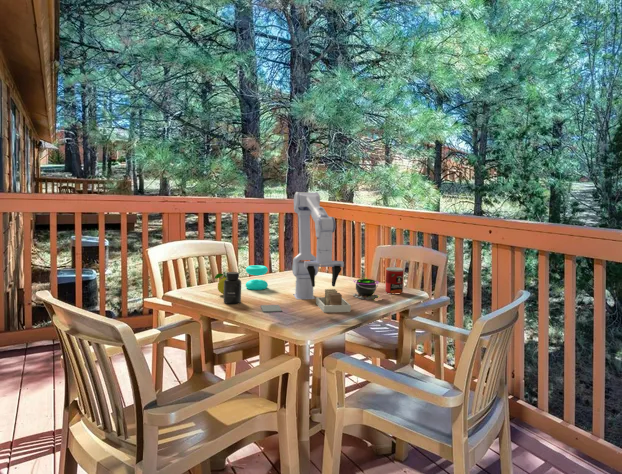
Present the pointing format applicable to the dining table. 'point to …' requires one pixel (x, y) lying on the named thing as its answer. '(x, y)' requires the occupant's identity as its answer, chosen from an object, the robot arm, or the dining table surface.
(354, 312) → the dining table surface
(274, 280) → the dining table surface
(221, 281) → the pear
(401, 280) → the canned food
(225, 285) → the supplement bottle
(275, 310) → the rubber mat
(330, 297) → the walnut block
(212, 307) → the dining table surface
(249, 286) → the donuts
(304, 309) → the dining table surface
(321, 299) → the parts bin
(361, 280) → the toy cauldron
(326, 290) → the birch block
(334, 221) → the robot arm
